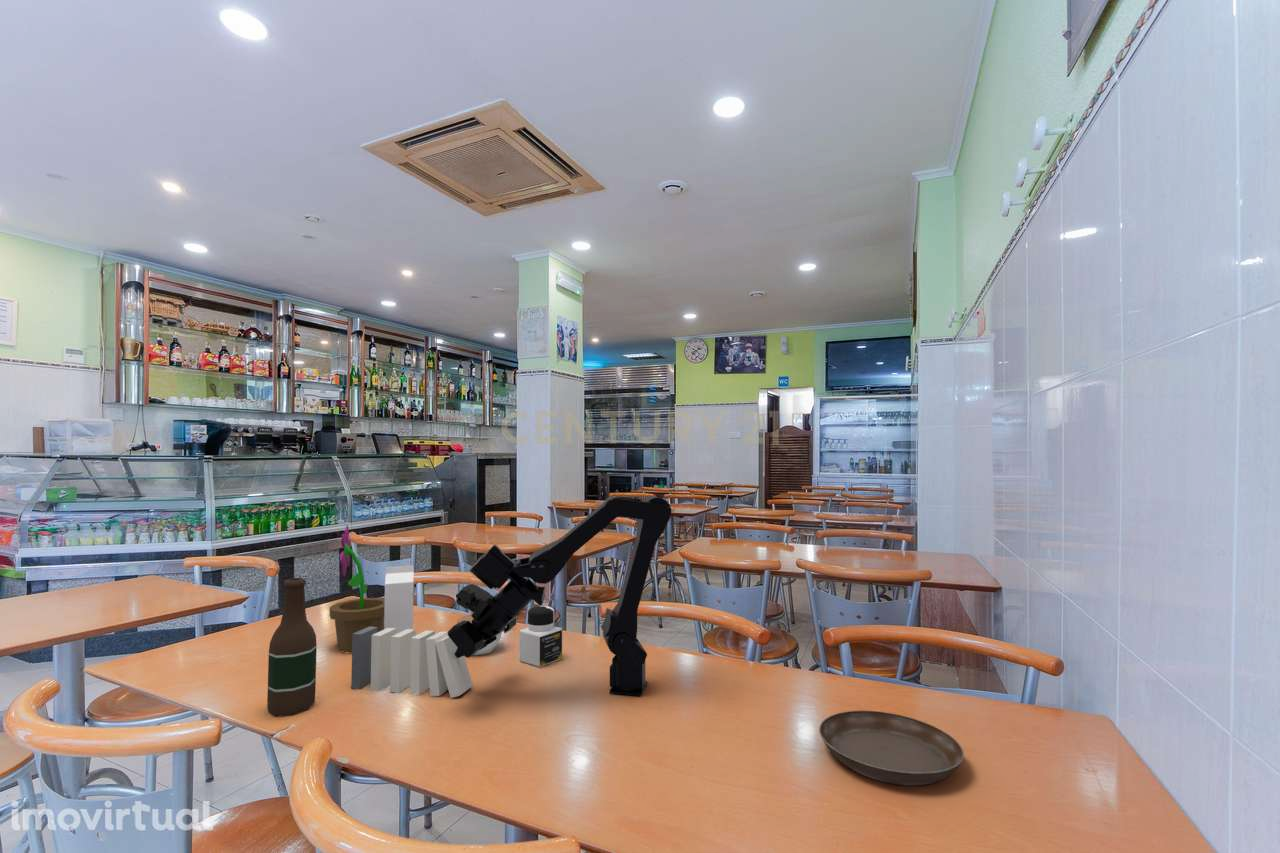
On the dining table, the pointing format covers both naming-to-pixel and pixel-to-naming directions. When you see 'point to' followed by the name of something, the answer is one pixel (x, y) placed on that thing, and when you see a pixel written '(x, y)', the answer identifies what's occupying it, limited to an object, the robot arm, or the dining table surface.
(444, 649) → the domino
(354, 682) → the domino
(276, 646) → the beer bottle
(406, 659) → the domino
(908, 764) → the plant saucer
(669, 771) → the dining table surface
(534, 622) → the medicine bottle
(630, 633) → the robot arm
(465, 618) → the lidded jar
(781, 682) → the dining table surface
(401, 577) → the milk
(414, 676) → the domino
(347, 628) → the flowerpot
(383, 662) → the domino
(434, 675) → the domino
